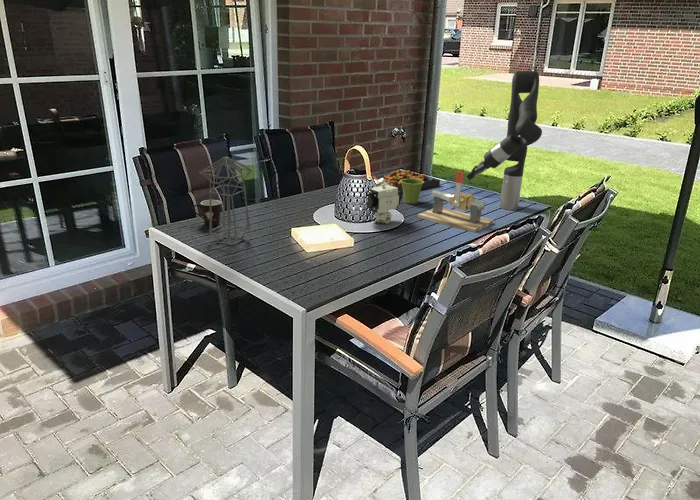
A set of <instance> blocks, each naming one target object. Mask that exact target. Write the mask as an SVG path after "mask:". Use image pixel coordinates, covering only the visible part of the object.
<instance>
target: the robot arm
mask: <svg viewBox="0 0 700 500" xmlns="http://www.w3.org/2000/svg"><path fill="white" fill-rule="evenodd" d="M511 80H512V81H511V95H510V106H509V112H508V119H507V131H506V137H505V138H504V139H502V140H501V141H500V142H498V143H496V144H495V145H494V146H492V148H491V149H488V151H487V152H485V153H484V155H483V159H484V160H481V161H479V163H478V164H477V165H474V167H473V168H472V169H471V171H470V173H469V174H468V175H466V178H467V179H468V181H470V180H473V179H474V178H475V177H477V176H479V175H480V174H482V173H484V172H485V171H487V170H489V169H490V168H491V169H496V168H498V167H499V166H500V165H502V164H503V163H504V162H505V161H509V162H517V163H516V164H514V165H512V166H507V167H506V168H504V171H503V178H502V185H501V193H500V200H499V208H500V209H503V210H508V211H513V210H514V211H515V210H518V209H519V204H520V203H519V202H520V196H521V190H522V182H523V177H524V167H525V163H526V158H527V152H528V146H530V145H532V144H534V143H536V142H537V141H538V140H540V138H541V137H542V135H543V129H542V128H541V127H540V126H539V125H537V124H536V122H537V120H538V105H537V104H538V99H539V90H540V89H539V88H540V87H539V86H540V75H539V72H538V71H536V70H518V71H515V72H514V73H513V75H512V79H511ZM520 94H528V95H527V96H526V97H524V99H523V100H522V98H521V96H520Z"/></svg>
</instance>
